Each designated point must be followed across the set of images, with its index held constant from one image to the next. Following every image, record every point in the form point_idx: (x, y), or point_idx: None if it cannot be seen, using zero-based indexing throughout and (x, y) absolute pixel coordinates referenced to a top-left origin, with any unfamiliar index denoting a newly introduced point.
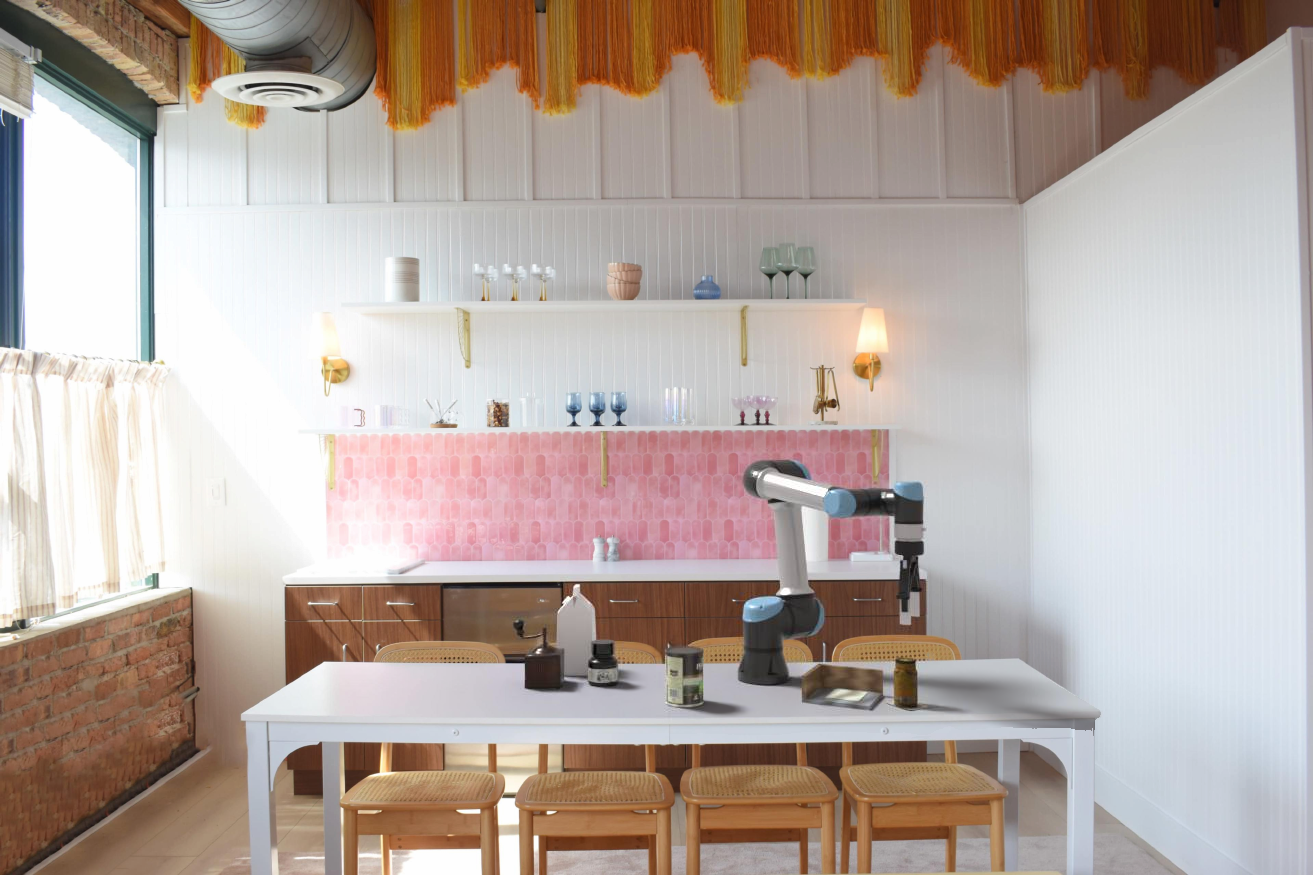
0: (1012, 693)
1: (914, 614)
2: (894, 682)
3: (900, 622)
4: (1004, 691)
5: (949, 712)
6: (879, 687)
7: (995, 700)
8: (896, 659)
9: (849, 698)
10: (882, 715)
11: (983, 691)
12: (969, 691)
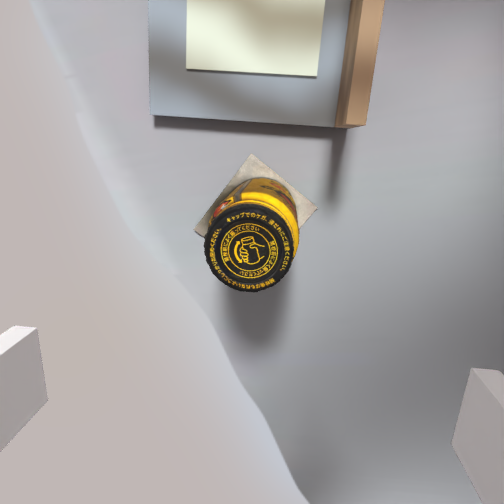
0: None
1: (466, 424)
2: (238, 189)
3: (4, 338)
4: None
5: (224, 324)
6: (337, 116)
7: (386, 423)
8: (229, 213)
9: (207, 27)
10: (117, 162)
11: None
12: None
